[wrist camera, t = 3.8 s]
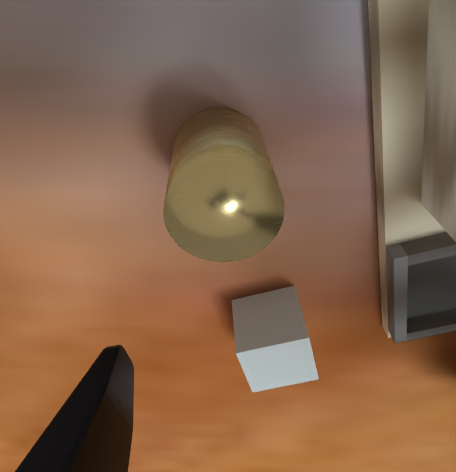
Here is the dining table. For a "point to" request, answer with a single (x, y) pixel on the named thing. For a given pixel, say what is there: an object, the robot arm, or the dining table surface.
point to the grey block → (272, 340)
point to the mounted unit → (415, 163)
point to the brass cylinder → (222, 188)
